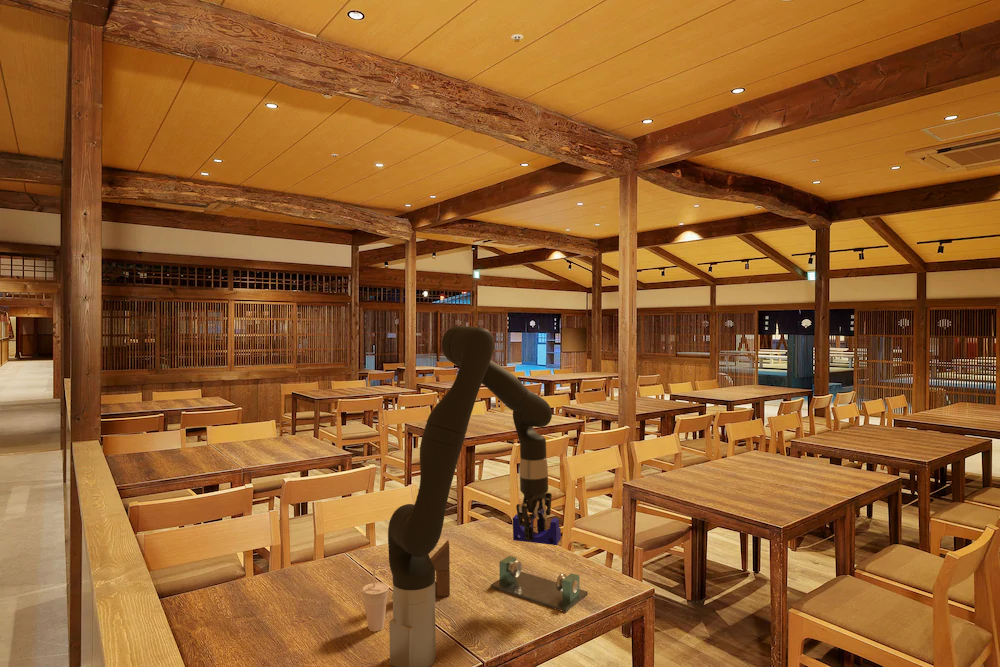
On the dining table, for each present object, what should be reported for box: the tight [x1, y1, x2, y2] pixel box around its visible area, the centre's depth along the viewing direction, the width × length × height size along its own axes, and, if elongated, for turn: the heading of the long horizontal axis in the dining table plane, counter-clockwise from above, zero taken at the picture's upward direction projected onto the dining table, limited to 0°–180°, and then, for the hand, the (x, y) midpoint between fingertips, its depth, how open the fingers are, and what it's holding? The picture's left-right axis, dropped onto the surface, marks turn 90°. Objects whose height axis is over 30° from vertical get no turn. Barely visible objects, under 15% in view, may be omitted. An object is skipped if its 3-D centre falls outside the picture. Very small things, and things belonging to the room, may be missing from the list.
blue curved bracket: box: [512, 514, 562, 546], centre depth 150 cm, size 12×4×6 cm, turn 69°
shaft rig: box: [490, 555, 589, 613], centre depth 154 cm, size 12×24×6 cm, turn 54°
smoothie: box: [361, 568, 390, 633], centre depth 136 cm, size 6×6×14 cm
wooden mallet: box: [430, 539, 451, 598], centre depth 152 cm, size 4×11×18 cm, turn 99°
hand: (535, 536), depth 150 cm, fingers closed on blue curved bracket, 5 cm apart
